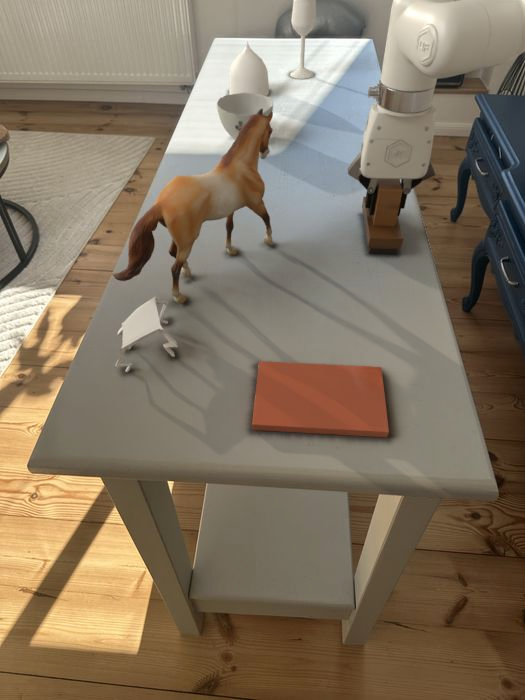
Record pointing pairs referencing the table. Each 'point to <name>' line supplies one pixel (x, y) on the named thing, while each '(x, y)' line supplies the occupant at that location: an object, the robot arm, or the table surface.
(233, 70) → the teardrop
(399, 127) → the robot arm
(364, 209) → the brown stepped block
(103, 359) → the table surface
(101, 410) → the table surface
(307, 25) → the champagne flute
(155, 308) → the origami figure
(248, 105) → the teacup
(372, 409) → the tile
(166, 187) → the horse figurine
